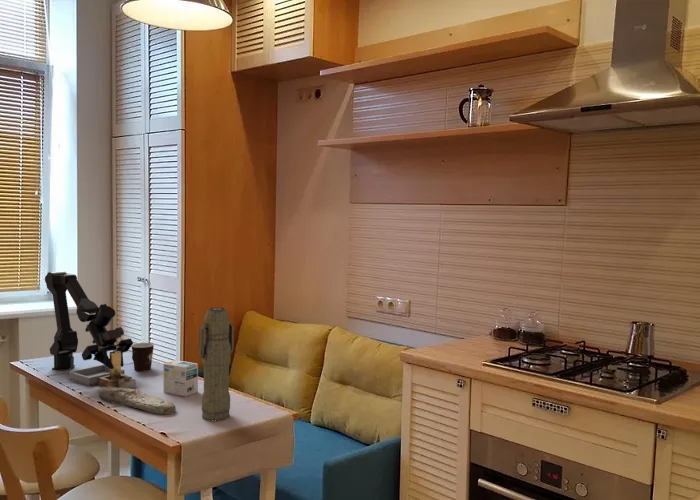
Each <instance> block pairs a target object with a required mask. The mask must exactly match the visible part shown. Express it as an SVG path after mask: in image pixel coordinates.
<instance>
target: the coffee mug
mask: <svg viewBox="0 0 700 500" xmlns="http://www.w3.org/2000/svg"><path fill="white" fill-rule="evenodd" d="M154 347H155V344H154V343H151V342H136V343H133V344H132V346H131V351H132V352H131V353H132V355H131V359H132V363H133V369H134V371H136V372H148V371H150V370H151V369H152V362H153V354H154Z"/></svg>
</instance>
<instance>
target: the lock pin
mask: <svg viewBox="0 0 700 500" xmlns="http://www.w3.org/2000/svg"><path fill="white" fill-rule="evenodd" d="M109 359H110V361H111V363H112V365H113V369H110V380H113V381H114V380H118V379H121V369H122V367H121V352H120V351H113V350H112V351H109Z"/></svg>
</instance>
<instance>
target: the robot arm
mask: <svg viewBox="0 0 700 500" xmlns="http://www.w3.org/2000/svg"><path fill="white" fill-rule="evenodd" d="M44 276H45V277H44V282H45V283H46V289H47V290H48V291H49V292H50V294H52V300H53V308H54V314H55V323H56V329H57V330H56V332H55V334H54V336H53V343H52V345H51V346H50V347H49V355H51V356H53V367H52V368H51V370H54V371H55V370H56V371H68V370H71V369H72V368H75V367H76V365H75V363H74V362H75V357H74V356H73V354H74V353H77V350H78V345H79V338H78V332H77V330H73V329H72V328H71V319H70V313H69V305H68V298H67V292H68V293H69V296H70V297H71V298H72V301H73V302H74V304H75V306H76V315H77V317H78V319H79V321H80V322H81V323H87V322H88V323H87V324H86V327H85V332H86V333H88V332H89V333H90V335H91V337H92V340H91V341H92V342H91V343H93V344H92V345H87V346H85V349H84V350H83V351H82V352H81V357H82V360H83V361H89V360H92V358H93V356H94V358H93V360H94V361H97V362H99V363H101V365H103V364H104V365H106V366H107V367H109V368H110V369H113V365H112V363H111V361H110V356H109V355H108V352H112V351H120V352H121V368H123V367H124V366H125V365H124V356H123V355H124V353H127V352H128V351H129V350H130V348H132V345H133V344H134V342H133V340H132V338H125V339H124V338H122V336H123V335H125V332H124V329H123V327H122V326H119V327H116V328H114V329H110V330H108V329H107V327H108V325H110V323H111V321H113V319H114V317H115V316H116V310H115V309H114V308H112V307H111V306H109V305H107V304H106V303H102V304H100V306H98V305H97V304H96V303H95V302H94V301H92V300H91V299H89V298H88V295H87V294H86V292H85V291H84V289H83V287H82V286H81V284H80V282H79V281H78V277H77V275H76V274H75V273H67V272H66V271H63V270H61V271H49V272H47V274H46V275H44ZM119 338H122V339H120V340H119V343H117V342H118V340H117V339H119ZM115 343H117V344H115Z"/></svg>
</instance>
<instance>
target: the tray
mask: <svg viewBox="0 0 700 500" xmlns="http://www.w3.org/2000/svg"><path fill="white" fill-rule="evenodd" d="M121 374H123V375H125V369H123V368H121ZM108 375H110V368H109V367H107V366H106V365H104V364H100V365H94V366H90V367H85V368H80V369H76V370H71V371H68V379H69V380H70V381H72V382H76V383H78V384H82V385H85V386H87V387H90V386H96V385H99V378H100V377H104V376H108Z"/></svg>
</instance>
